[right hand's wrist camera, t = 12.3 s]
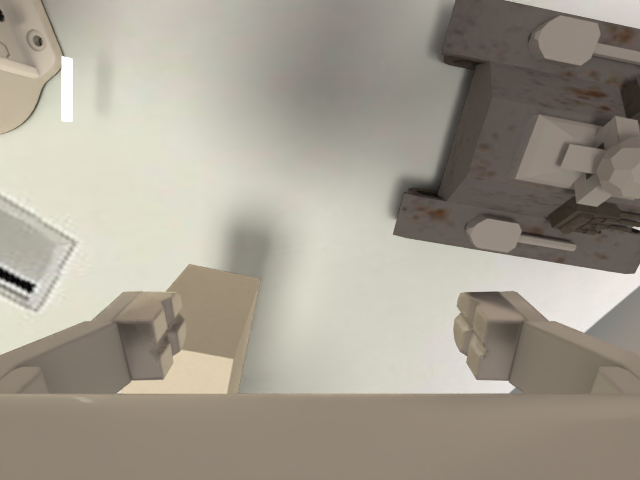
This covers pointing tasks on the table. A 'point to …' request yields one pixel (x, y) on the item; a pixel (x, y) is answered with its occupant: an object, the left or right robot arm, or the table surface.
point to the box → (208, 334)
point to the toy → (539, 140)
